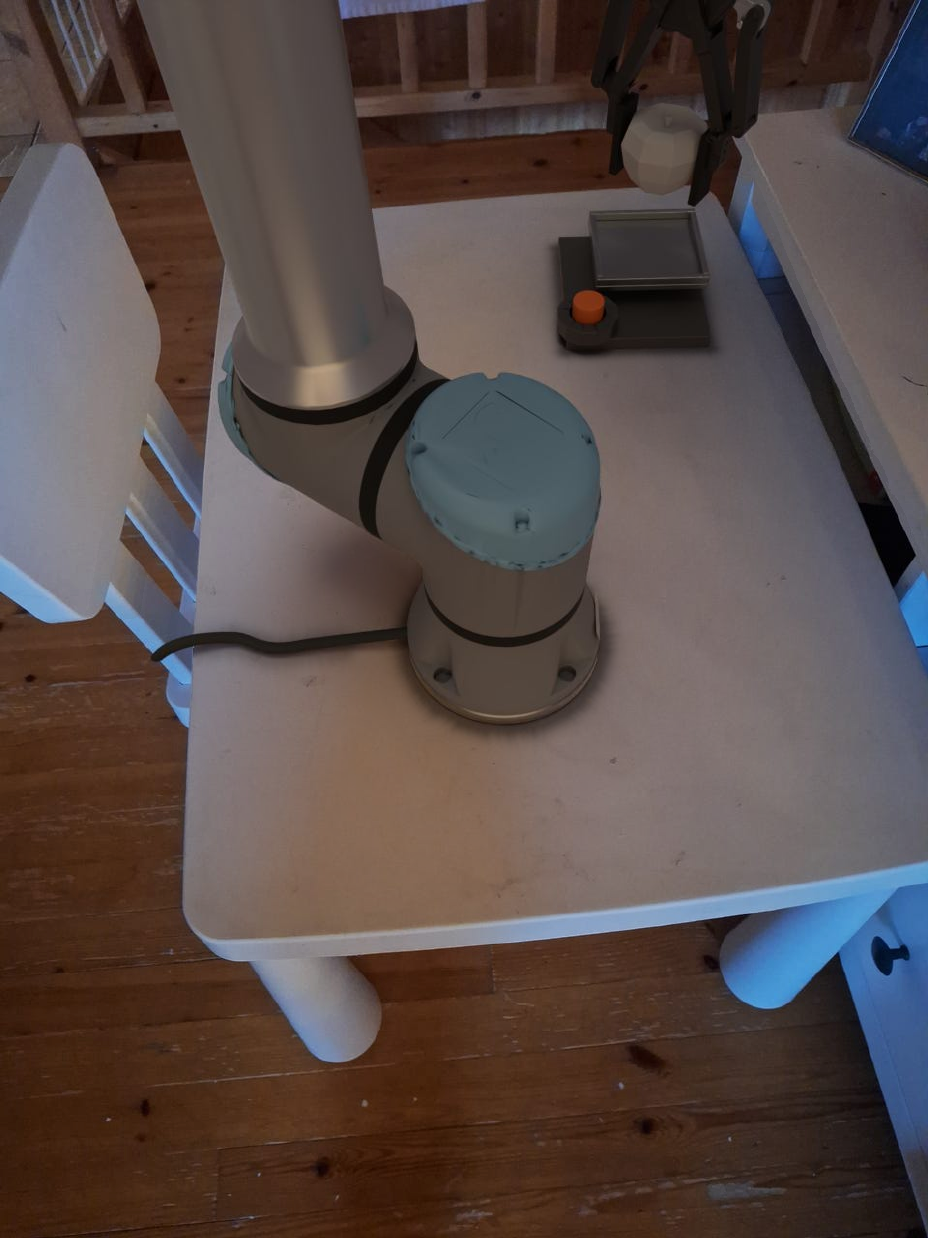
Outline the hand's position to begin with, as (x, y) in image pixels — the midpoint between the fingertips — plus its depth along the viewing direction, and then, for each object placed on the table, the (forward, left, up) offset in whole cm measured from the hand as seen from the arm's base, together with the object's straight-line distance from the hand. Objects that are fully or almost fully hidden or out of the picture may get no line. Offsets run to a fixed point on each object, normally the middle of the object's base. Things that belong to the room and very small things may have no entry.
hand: (658, 182), depth 85 cm
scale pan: (0, 0, -8) cm, 8 cm away
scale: (-2, -3, -11) cm, 11 cm away
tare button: (-7, -9, -8) cm, 14 cm away
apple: (0, 0, 0) cm, 0 cm away
